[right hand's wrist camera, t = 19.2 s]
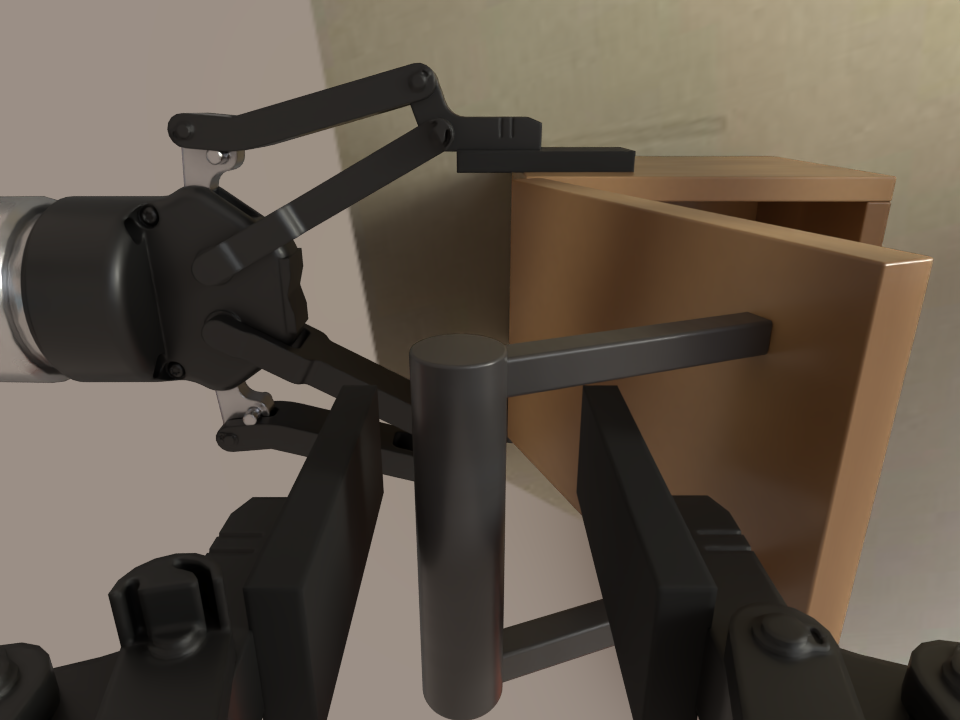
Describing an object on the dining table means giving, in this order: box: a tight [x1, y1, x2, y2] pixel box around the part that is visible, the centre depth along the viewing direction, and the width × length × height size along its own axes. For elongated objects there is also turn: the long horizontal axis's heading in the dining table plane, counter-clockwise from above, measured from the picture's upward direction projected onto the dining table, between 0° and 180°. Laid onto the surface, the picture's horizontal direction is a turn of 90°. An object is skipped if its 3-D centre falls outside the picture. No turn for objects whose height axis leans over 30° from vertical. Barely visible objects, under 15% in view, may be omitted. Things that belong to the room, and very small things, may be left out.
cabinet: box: [509, 156, 896, 317], centre depth 29 cm, size 13×10×10 cm
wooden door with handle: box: [409, 178, 933, 720], centre depth 17 cm, size 14×10×8 cm
